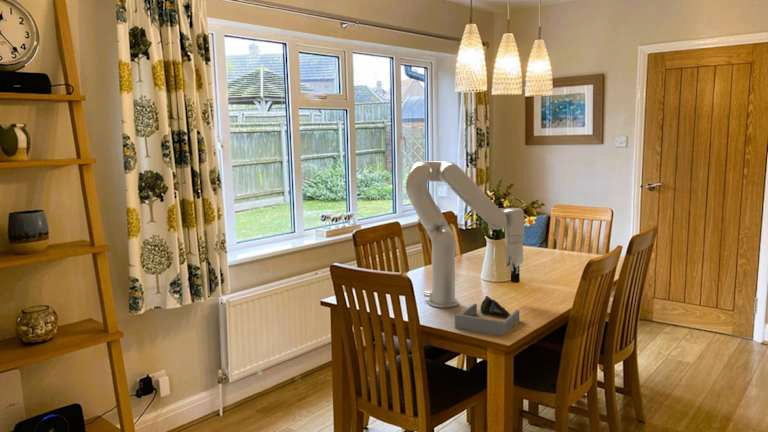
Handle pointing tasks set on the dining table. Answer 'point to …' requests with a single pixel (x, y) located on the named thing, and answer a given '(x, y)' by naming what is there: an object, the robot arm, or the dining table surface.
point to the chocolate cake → (493, 308)
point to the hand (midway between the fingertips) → (515, 282)
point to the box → (484, 322)
